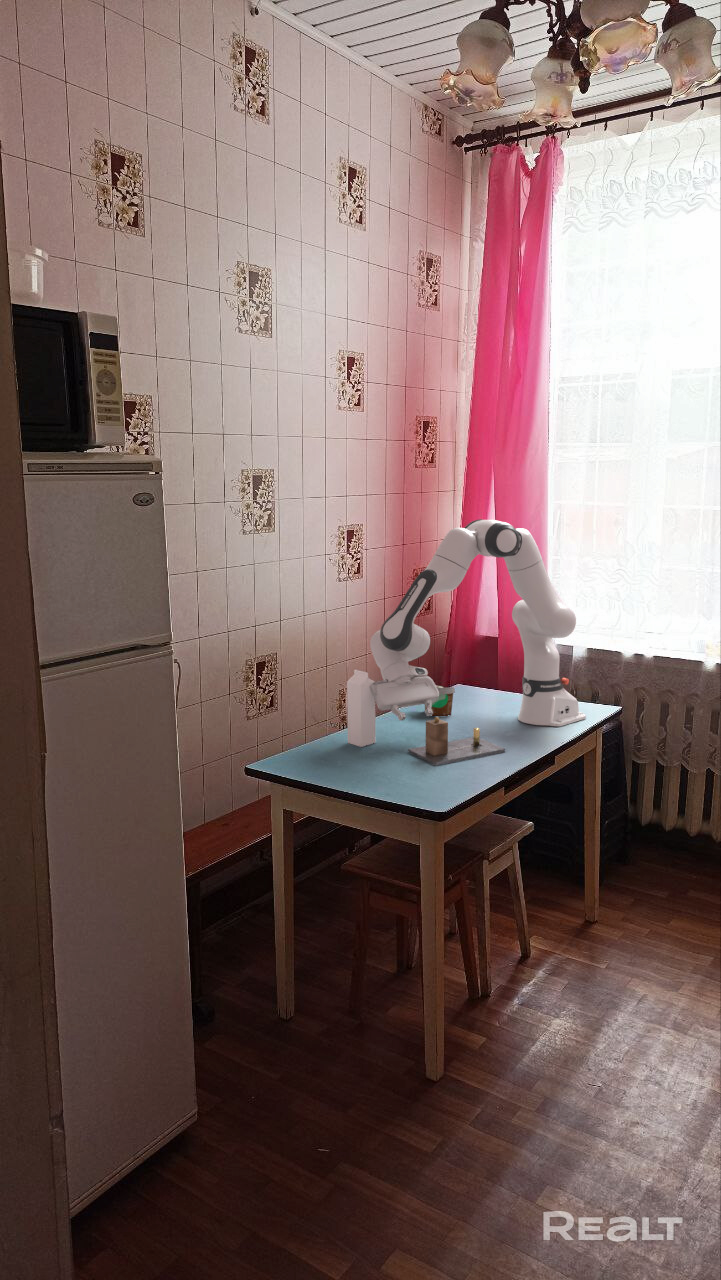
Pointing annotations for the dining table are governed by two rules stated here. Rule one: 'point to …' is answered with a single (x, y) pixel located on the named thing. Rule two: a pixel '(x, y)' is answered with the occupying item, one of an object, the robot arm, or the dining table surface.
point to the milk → (360, 709)
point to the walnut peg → (436, 737)
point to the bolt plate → (459, 750)
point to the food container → (443, 701)
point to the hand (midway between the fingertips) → (416, 717)
